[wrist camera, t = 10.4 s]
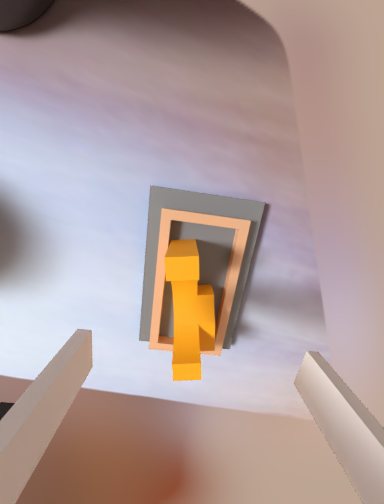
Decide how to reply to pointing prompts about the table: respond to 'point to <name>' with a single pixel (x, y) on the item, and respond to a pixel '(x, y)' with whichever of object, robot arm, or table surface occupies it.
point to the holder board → (210, 258)
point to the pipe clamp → (189, 310)
